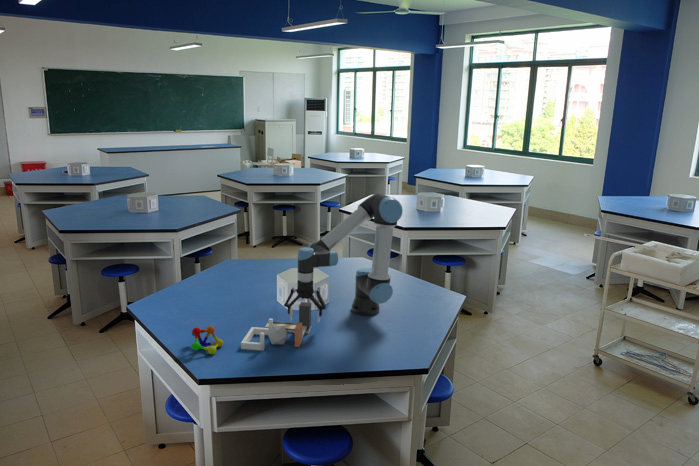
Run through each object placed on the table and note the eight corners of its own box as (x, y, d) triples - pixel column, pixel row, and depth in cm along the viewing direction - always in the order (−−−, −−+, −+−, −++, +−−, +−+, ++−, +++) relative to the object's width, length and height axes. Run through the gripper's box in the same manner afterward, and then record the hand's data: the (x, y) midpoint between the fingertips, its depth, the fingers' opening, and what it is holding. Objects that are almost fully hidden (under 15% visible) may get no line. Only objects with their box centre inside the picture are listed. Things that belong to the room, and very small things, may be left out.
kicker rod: (310, 327, 255) (311, 302, 252) (302, 347, 234) (302, 320, 231) (301, 326, 256) (301, 302, 253) (291, 346, 234) (291, 320, 231)
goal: (273, 334, 248) (273, 318, 246) (263, 350, 231) (263, 334, 229) (252, 332, 249) (251, 317, 247) (240, 349, 232) (240, 332, 230)
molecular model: (220, 348, 239) (190, 334, 237) (229, 331, 237) (199, 317, 235) (213, 364, 224) (181, 350, 222) (222, 346, 222) (190, 332, 220)
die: (279, 350, 233) (291, 331, 234) (262, 339, 233) (275, 320, 234) (281, 348, 241) (293, 330, 242) (265, 338, 242) (277, 320, 243)
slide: (311, 326, 257) (311, 323, 256) (308, 333, 249) (308, 330, 249) (268, 323, 259) (268, 320, 259) (264, 330, 251) (263, 327, 251)
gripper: (332, 279, 249) (331, 319, 254) (281, 275, 252) (281, 316, 257) (330, 284, 242) (328, 326, 247) (277, 280, 244) (277, 322, 250)
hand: (304, 321), depth 252 cm, fingers open, 13 cm apart
